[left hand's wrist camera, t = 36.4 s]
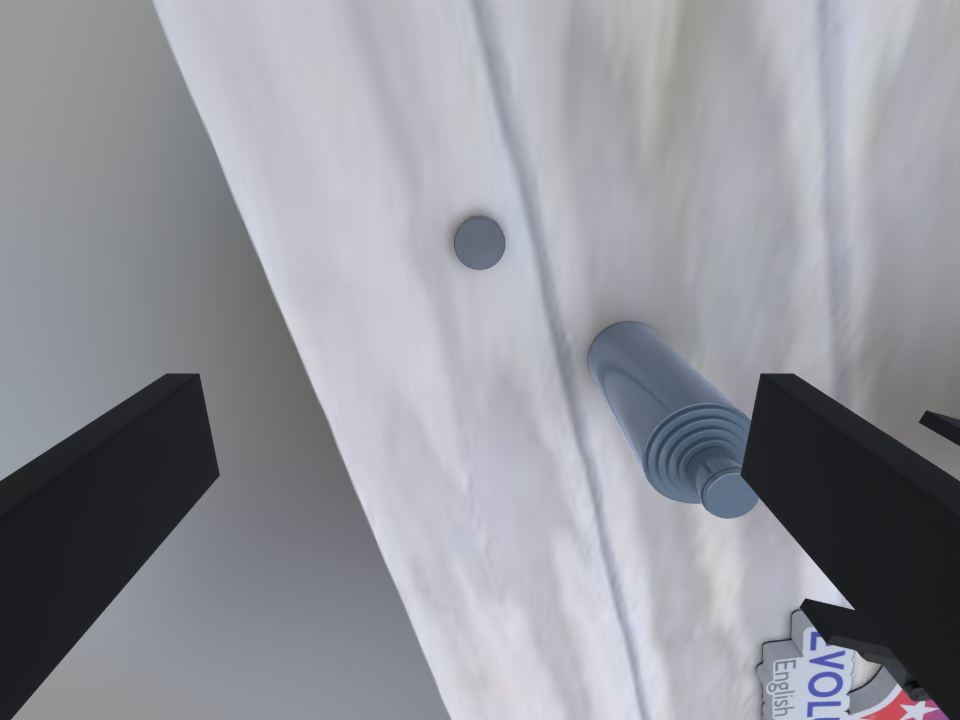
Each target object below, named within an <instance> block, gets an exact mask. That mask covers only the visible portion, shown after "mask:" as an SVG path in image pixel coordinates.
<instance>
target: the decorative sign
mask: <svg viewBox="0 0 960 720" xmlns="http://www.w3.org/2000/svg"><path fill="white" fill-rule="evenodd" d="M791 638H792V640H788V641H780V642H771V643H766V644H764V645H763V661H764V662H763V664H761V665H759V666H758V667H757V675H758V677H759V679H760V681H761V683H762V684H763V695H764V696H763V701H764V703H765V704H764V705H763V706H762V709H763V710H762V712H763V715H762V718H763V720H949V719H948V718H947V717H946V715H945V714H944V713H943V712H942V711H941V710H940V708H939V707H938V706H937V705H936V704H935V702H934V701H933V700H929V701H921V702H914V701H912V700H911V699H910V698H909V697H908V696H907V694H906V693H905V692H904V691H903V690H902V688H901V687H900V686H899V685H898V683H897V682H896V681H895V680H894V679H893V677H892V676H891V675H890V674H889V672H888V671H887V670H886V669H885V667H884V666H883V667H882V669H881V670H880V672H879V673H878V674H877V676H876V677H875V678H874V679H873V680H872V681H871V682H870V683H869V684H868V685H866V686H865V687H863V688H861V689H859V690H857V691H854V692H852V693H849V694H847V693H848V692H849V691H850V689H851V687H852V683H853V680H852V676H851V674H852V673H853V667H854V662H853V660H852V659H853V658H854V655H855V650H851V649H847V648H842V647H838V646H834V645H829V644H826V642H825V641H824V640H823V638H822V637H821V636H820V634H819V633H818V632H817V630H816V629H815V627H814V626H813V625H812V623H811V622H810V621H809V619H808V618H807V617H806V615H805V614H804V612H803V611H802V610H800V611H796V612H795V613H794V614H793V615H792V630H791Z"/></svg>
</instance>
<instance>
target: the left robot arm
mask: <svg viewBox="0 0 960 720" xmlns="http://www.w3.org/2000/svg"><path fill="white" fill-rule="evenodd" d="M219 475H220V474H219V469H218V464H217V459H216V455H215V449H214V445H213V439H212V435H211V429H210V425H209V419H208V415H207V410H206V405H205V400H204V395H203V390H202V385H201V380H200V375H199V374H165V375H164V376H162V377H161V378H159V379H157V380H156V381H154V382H153V383H151V384H150V385H148V386H147V387H145V388H144V389H142V390H140V391H139V392H137V393H136V394H134V395H133V396H131V397H130V398H128V399H127V400H125V401H123V402H122V403H120V404H119V405H117V406H116V407H114V408H113V409H111V410H110V411H108V412H106V413H105V414H103V415H102V416H100V417H99V418H97V419H96V420H94V421H93V422H91V423H89V424H88V425H86V426H85V427H83V428H82V429H80V430H79V431H77V432H75V433H74V434H72V435H71V436H69V437H68V438H66V439H65V440H63V441H62V442H60V443H59V444H57V445H55V446H54V447H52V448H51V449H49V450H48V451H46V452H45V453H43V454H41V455H40V456H38V457H37V458H35V459H34V460H32V461H31V462H29V463H28V464H26V465H24V466H23V467H21V468H20V469H18V470H17V471H15V472H14V473H12V474H11V475H9V476H8V477H6V478H4V479H3V480H1V481H0V720H11V719H12V718H13V716H14V715H15V714H16V713H17V712H18V711H19V709H20V708H21V707H22V706H23V705H24V704H25V702H26V701H27V700H28V699H29V698H30V697H31V695H32V694H33V693H34V692H35V691H36V690H37V688H38V687H39V686H40V685H41V684H42V683H43V681H44V680H45V679H46V678H47V677H48V676H49V674H50V673H51V672H52V671H53V670H54V668H55V667H56V666H57V665H58V664H59V663H60V662H61V660H62V659H63V658H64V657H65V656H66V655H67V653H68V652H69V651H70V650H71V649H72V647H73V646H74V645H75V644H76V643H77V642H78V640H79V639H80V638H81V637H82V636H83V635H84V633H85V632H86V631H87V630H88V629H89V628H90V626H91V625H92V624H93V623H94V622H95V621H96V619H97V618H98V617H99V616H100V615H101V614H102V612H103V611H104V610H105V609H106V608H107V607H108V605H109V604H110V603H111V602H112V601H113V599H114V598H115V597H116V596H117V595H118V594H119V593H120V591H121V590H122V589H123V588H124V587H125V585H126V584H127V583H128V582H129V581H130V580H131V578H132V577H133V576H134V575H135V574H136V573H137V571H138V570H139V569H140V568H141V567H142V566H143V564H144V563H145V562H146V561H147V560H148V559H149V557H150V556H151V555H152V554H153V553H154V552H155V550H156V549H157V548H158V547H159V546H160V544H161V543H162V542H163V541H164V540H165V539H166V538H167V536H168V535H169V534H170V533H171V532H172V530H173V529H174V528H175V527H176V526H177V525H178V523H179V522H180V521H181V520H182V519H183V518H184V516H185V515H186V514H187V513H188V512H189V511H190V509H191V508H192V507H193V506H194V505H195V504H196V502H197V501H198V500H199V499H200V498H201V497H202V495H203V494H204V493H205V492H206V491H207V490H208V488H209V487H210V486H211V485H212V484H213V483H214V481H215V480H216V479H217V478H218V477H219ZM740 476H741V477H742V478H743V479H744V480H745V481H746V483H747V484H748V485H749V486H750V487H751V488H752V490H753V491H754V492H755V493H756V494H757V495H758V497H759V498H760V499H761V500H762V501H763V502H764V504H765V505H766V506H767V507H768V508H769V509H770V511H771V512H772V513H773V514H774V515H775V516H776V518H777V519H778V520H779V521H780V522H781V524H782V525H783V526H784V527H785V528H786V529H787V531H788V532H789V533H790V534H791V535H792V536H793V538H794V539H795V540H796V541H797V542H798V543H799V545H800V546H801V547H802V548H803V549H804V550H805V552H806V553H807V554H808V555H809V556H810V557H811V559H812V560H813V561H814V562H815V563H816V564H817V566H818V567H819V568H820V569H821V570H822V571H823V573H824V574H825V575H826V576H827V577H828V578H829V580H830V581H831V582H832V583H833V584H834V586H835V587H836V588H837V589H838V590H839V591H840V593H841V594H842V595H843V596H844V597H845V598H846V600H847V601H848V602H849V603H850V604H851V605H852V607H853V608H854V609H855V610H856V611H857V612H858V614H859V615H860V616H861V617H862V618H863V619H864V621H865V622H866V623H867V624H868V625H869V626H870V628H871V629H872V630H873V631H874V632H875V633H876V635H877V636H878V637H879V638H880V639H881V640H882V642H883V643H884V644H885V645H886V646H887V648H888V649H889V650H890V651H891V652H892V653H893V655H894V656H895V657H896V658H897V659H898V660H899V662H900V663H901V664H902V665H903V666H904V667H905V669H906V670H907V671H908V672H909V673H910V674H911V676H912V677H913V678H914V679H915V680H916V681H917V683H918V684H919V685H920V686H921V687H922V688H923V690H924V691H925V692H926V693H927V694H928V695H929V697H930V698H931V699H932V700H933V701H934V702H935V704H936V705H937V706H938V707H939V708H940V710H941V711H942V712H943V713H944V714H945V715H946V717H947V718H948V719H949V720H960V481H959V480H957V479H956V478H954V477H953V476H951V475H949V474H948V473H946V472H945V471H943V470H942V469H940V468H939V467H937V466H936V465H934V464H932V463H931V462H929V461H928V460H926V459H925V458H923V457H922V456H920V455H919V454H917V453H915V452H914V451H912V450H911V449H909V448H908V447H906V446H905V445H903V444H902V443H900V442H898V441H897V440H895V439H894V438H892V437H891V436H889V435H888V434H886V433H885V432H883V431H881V430H880V429H878V428H877V427H875V426H874V425H872V424H871V423H869V422H868V421H866V420H864V419H863V418H861V417H860V416H858V415H857V414H855V413H854V412H852V411H851V410H849V409H847V408H846V407H844V406H843V405H841V404H840V403H838V402H837V401H835V400H834V399H832V398H830V397H829V396H827V395H826V394H824V393H823V392H821V391H820V390H818V389H817V388H815V387H813V386H812V385H810V384H809V383H807V382H806V381H804V380H803V379H801V378H800V377H798V376H796V375H795V374H761V375H760V380H759V385H758V390H757V395H756V400H755V405H754V410H753V414H752V419H751V424H750V429H749V434H748V439H747V444H746V449H745V454H744V459H743V464H742V469H741V474H740Z"/></svg>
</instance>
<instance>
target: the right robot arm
mask: <svg viewBox="0 0 960 720" xmlns="http://www.w3.org/2000/svg"><path fill="white" fill-rule="evenodd" d="M919 423H921V424H922V425H924V426H926V427H928V428H929V429H931V430H933V431H935V432H936V433H938V434H940V435H941V436H943V437H945V438H947V439H948V440H950V441H952V442H954V443H955V444H957V445H959V446H960V420H958V419H955V418H951V417H948V416H944V415H941V414H937V413H933V412H930V411H926V412H925V413H924V415H923V416H922V418H921V420H920V421H919ZM800 608H801V610H802V611H803V612H804V614H805V615H806V617H807V618H808V619H809V621H810V622H811V623H812V625H813V626H814V627H815V629H816V630H817V632H818V633H819V634H820V636H821V637H822V638H823V640H824V641H825V642H826V644H829V645H834V646H838V647H842V648H847V649H851V650H856V651H857V652H858V653H859V655H860V656H861V657H862V658H863V659H865V660H866V661H869V662H873V663H878V664H882V665H883V666H884V667H885V669H886V670H887V671H888V672H889V674H890V675H891V676H892V677H893V679H894V680H895V681H896V682H897V683H898V685H899V686H900V687H901V688H902V690H903V691H904V692H905V693H906V694H907V696H908V697H909V698H910V699H911V700H912V701H914V702H921V701H929V700H932V699H931V698H930V697H929V695H928V694H927V693H926V692H925V691H924V690H923V688H922V687H921V686H920V685H919V684H918V683H917V681H916V680H915V679H914V678H913V677H912V676H911V674H910V673H909V672H908V671H907V670H906V669H905V667H904V666H903V665H902V664H901V663H900V662H899V660H898V659H897V658H896V657H895V656H894V655H893V653H892V652H891V651H890V650H889V649H888V648H887V646H886V645H885V644H884V643H883V642H882V640H881V639H880V638H879V637H878V636H877V635H876V633H875V632H874V631H873V630H872V629H871V628H870V626H869V625H868V624H867V623H866V622H865V621H864V619H863V618H862V617H861V616H860V615H859V614H858V612H857V611H856V610H852V609H848V608H844V607H839V606H835V605H831V604H827V603H823V602H818V601H814V600H810V599H806V598H805V600H804V601H803V603H802V605H801V606H800Z"/></svg>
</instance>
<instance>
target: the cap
mask: <svg viewBox="0 0 960 720" xmlns="http://www.w3.org/2000/svg"><path fill="white" fill-rule="evenodd" d="M454 247H455V252H456V254H457V256H458V258H459V259H460V261H461V262H462V263H463V264H465V265H466V266H468V267H470V268H472V269H478V270H482V269H487V268H490V267H492V266H493V265H495V264H496V263H497V262H498V261H499V260H500V259H501V257H502V255H503V253H504V249H505V238H504V235H503V232H502V230H501V228H500V226H499V225H498V224H497V223H496V222H495V221H494V220H492V219H490V218H488V217H485V216H475V217H471V218H469V219H467V220H466V221H464V222H463V223H462V224H461V226H460V227H459V229H458V231H457V233H456V236H455V241H454Z"/></svg>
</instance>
